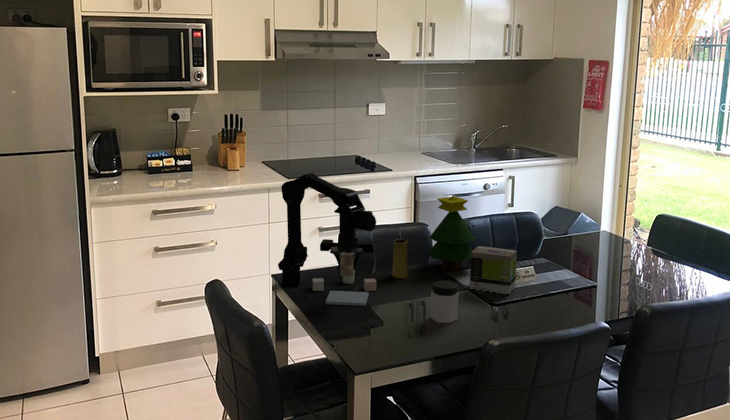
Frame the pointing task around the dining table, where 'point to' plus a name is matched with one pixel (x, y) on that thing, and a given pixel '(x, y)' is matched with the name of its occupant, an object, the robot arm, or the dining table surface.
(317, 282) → the off-white block
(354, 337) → the dining table surface
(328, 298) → the blue board
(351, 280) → the sage cylinder
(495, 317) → the dining table surface
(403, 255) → the vase
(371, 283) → the pink block
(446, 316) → the jar
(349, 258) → the birch block
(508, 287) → the tea box
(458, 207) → the decorative tree
